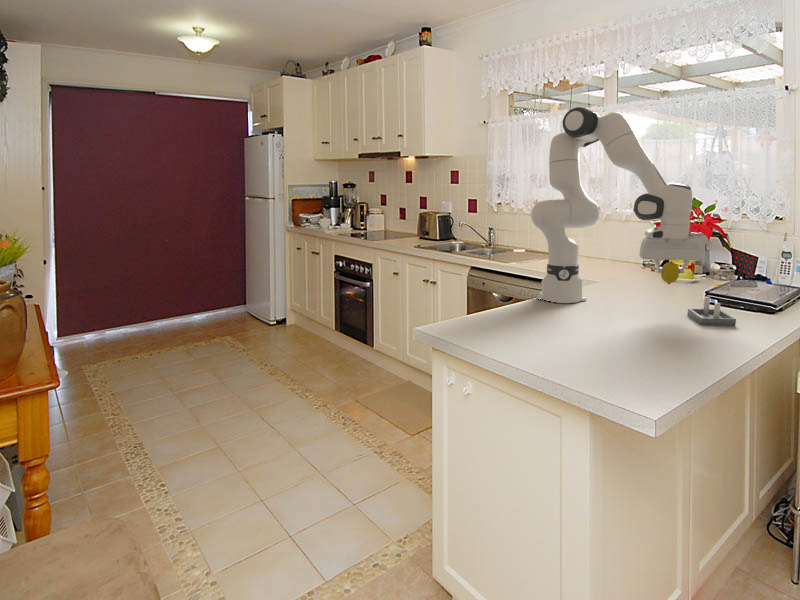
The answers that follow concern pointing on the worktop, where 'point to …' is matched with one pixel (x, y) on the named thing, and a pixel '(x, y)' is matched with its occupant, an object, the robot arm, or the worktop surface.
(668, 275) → the lemon
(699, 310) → the tray
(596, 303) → the worktop surface
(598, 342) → the worktop surface
